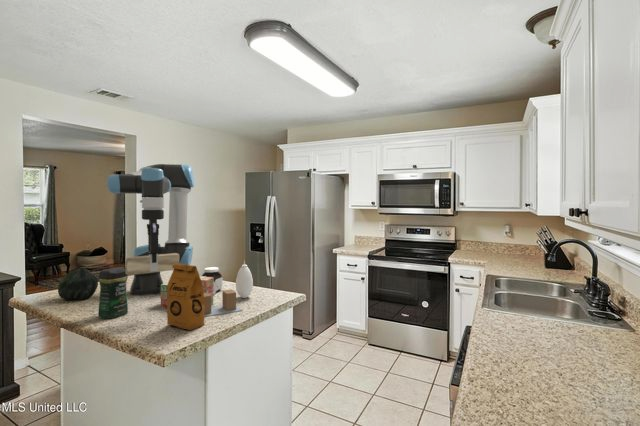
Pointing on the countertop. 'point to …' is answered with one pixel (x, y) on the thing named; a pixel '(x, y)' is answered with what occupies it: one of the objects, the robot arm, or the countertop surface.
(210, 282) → the stack of blocks
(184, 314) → the coffee package
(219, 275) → the spread jar
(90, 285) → the squash
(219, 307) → the build board
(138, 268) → the bar
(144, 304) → the countertop surface
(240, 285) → the sauce bottle
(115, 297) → the coffee jar
